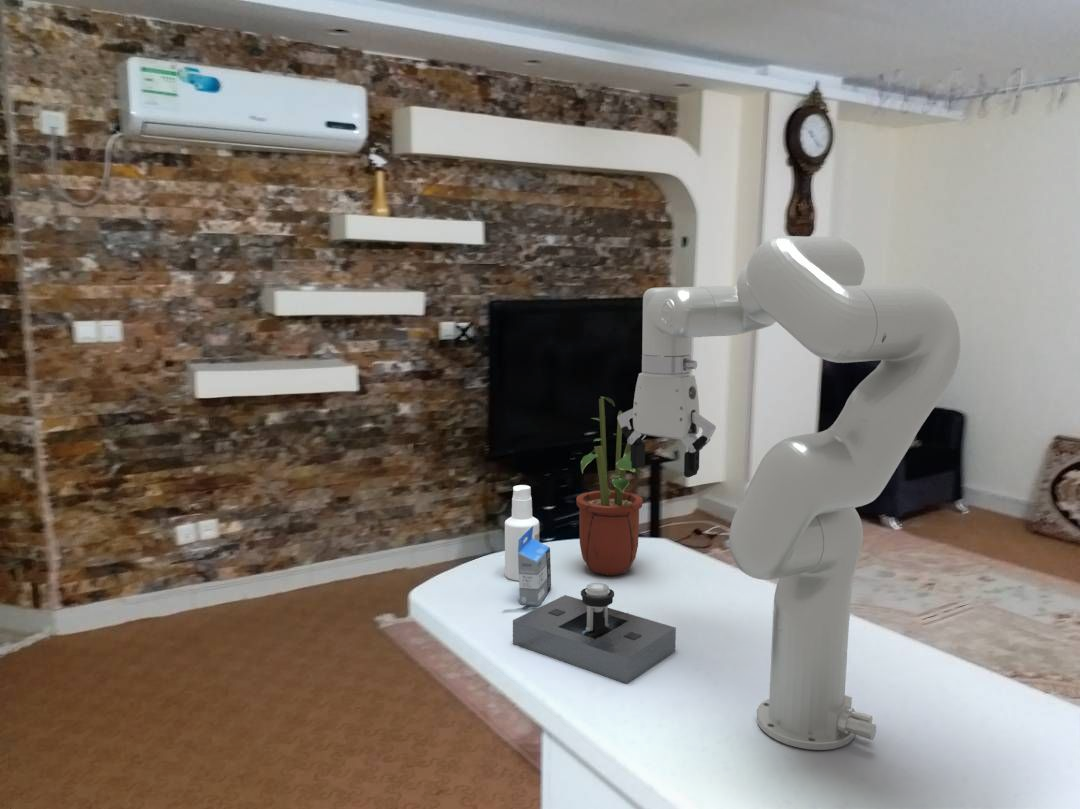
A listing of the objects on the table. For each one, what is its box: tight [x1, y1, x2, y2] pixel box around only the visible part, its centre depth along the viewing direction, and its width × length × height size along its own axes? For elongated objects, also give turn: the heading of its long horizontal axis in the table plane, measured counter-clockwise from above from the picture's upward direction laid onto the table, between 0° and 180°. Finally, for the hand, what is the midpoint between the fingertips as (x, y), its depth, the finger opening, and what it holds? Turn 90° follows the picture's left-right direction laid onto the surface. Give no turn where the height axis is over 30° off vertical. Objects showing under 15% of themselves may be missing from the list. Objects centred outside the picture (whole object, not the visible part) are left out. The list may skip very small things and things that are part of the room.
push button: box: [580, 582, 615, 639], centre depth 140 cm, size 7×5×10 cm
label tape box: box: [518, 526, 552, 607], centre depth 161 cm, size 9×4×12 cm, turn 164°
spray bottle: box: [504, 484, 540, 582], centre depth 171 cm, size 7×7×18 cm
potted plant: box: [575, 396, 647, 577], centre depth 172 cm, size 17×16×35 cm
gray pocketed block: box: [512, 594, 677, 685], centre depth 140 cm, size 22×14×4 cm, turn 51°
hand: (663, 471), depth 141 cm, fingers open, 9 cm apart
